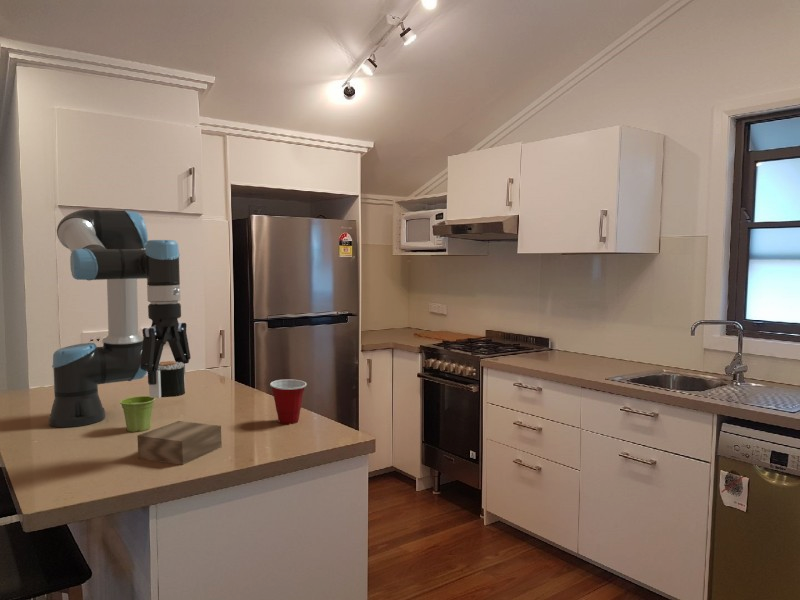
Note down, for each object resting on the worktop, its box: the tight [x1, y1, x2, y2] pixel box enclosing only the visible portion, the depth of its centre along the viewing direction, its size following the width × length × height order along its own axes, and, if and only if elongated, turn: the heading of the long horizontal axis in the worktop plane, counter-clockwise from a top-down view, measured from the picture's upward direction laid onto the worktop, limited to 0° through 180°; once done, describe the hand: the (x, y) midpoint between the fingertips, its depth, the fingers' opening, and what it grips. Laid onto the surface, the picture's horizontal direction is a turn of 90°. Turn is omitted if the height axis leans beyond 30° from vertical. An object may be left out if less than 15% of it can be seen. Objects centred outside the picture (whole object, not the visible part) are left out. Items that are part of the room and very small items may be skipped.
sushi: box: [157, 360, 186, 399], centre depth 144 cm, size 8×8×8 cm
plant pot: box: [119, 395, 156, 433], centre depth 168 cm, size 9×9×9 cm
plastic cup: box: [269, 378, 308, 425], centre depth 173 cm, size 11×11×12 cm
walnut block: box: [137, 420, 222, 466], centre depth 146 cm, size 14×14×6 cm
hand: (168, 393), depth 144 cm, fingers closed on sushi, 9 cm apart
